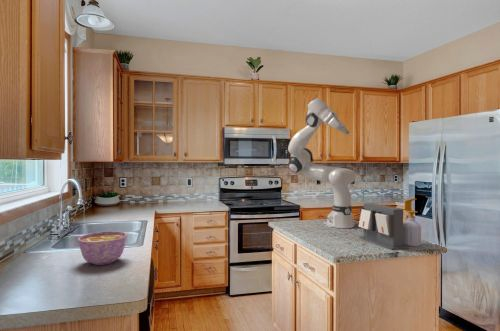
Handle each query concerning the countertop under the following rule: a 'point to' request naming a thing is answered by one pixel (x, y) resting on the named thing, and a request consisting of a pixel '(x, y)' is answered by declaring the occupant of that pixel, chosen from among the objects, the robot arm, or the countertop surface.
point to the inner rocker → (365, 219)
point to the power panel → (395, 227)
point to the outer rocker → (382, 223)
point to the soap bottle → (411, 227)
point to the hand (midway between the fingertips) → (347, 133)
